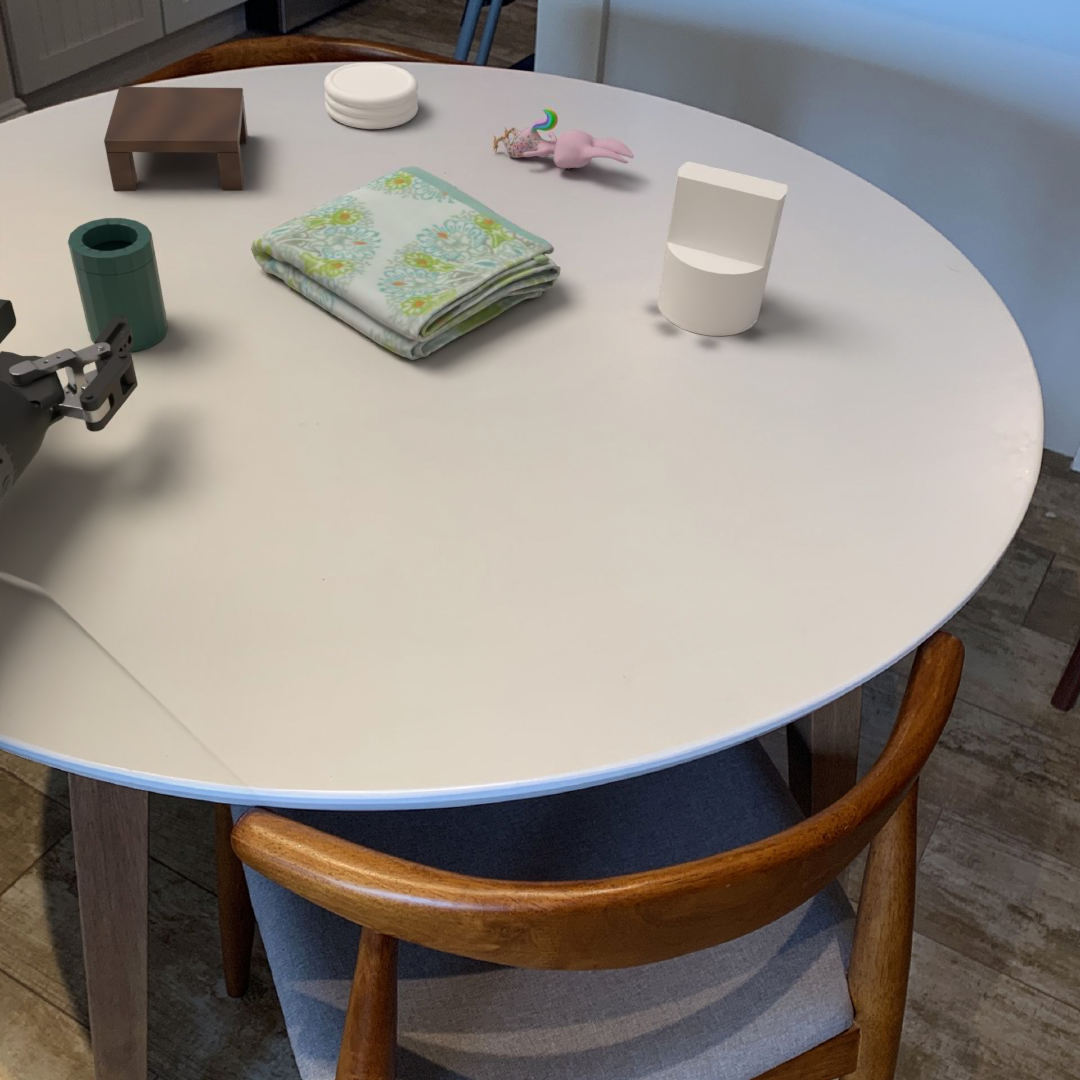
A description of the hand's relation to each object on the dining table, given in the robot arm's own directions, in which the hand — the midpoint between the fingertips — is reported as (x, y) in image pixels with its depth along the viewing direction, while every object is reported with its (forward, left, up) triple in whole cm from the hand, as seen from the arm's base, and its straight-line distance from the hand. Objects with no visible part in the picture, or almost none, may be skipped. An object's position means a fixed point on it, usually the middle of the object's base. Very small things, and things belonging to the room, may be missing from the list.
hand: (66, 318), depth 85 cm
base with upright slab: (+51, +10, -7) cm, 53 cm away
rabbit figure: (+42, +37, -7) cm, 57 cm away
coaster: (+23, +50, -7) cm, 56 cm away
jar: (+2, +8, -7) cm, 11 cm away
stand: (+4, +38, -7) cm, 39 cm away
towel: (+25, +15, -7) cm, 30 cm away
